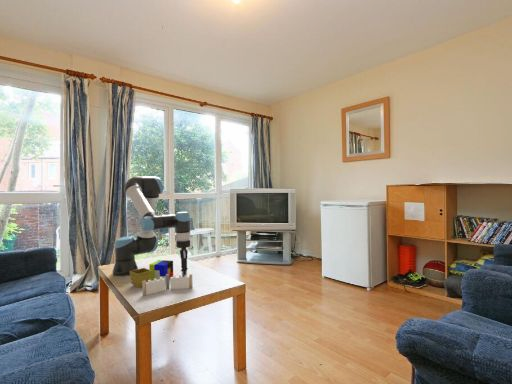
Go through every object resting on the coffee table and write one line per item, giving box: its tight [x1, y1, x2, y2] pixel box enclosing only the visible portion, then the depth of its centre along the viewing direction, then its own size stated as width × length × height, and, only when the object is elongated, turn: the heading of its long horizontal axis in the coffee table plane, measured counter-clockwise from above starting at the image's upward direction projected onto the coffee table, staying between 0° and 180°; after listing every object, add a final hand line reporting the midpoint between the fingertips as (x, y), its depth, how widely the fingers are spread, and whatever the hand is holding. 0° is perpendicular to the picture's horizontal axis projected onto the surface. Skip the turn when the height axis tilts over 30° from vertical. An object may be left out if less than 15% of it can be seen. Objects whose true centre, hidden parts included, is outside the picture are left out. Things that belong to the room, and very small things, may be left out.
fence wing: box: [169, 273, 193, 290], centre depth 148 cm, size 12×2×7 cm, turn 97°
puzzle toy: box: [148, 259, 174, 281], centre depth 166 cm, size 10×10×10 cm
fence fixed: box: [141, 274, 170, 297], centre depth 143 cm, size 14×2×8 cm, turn 131°
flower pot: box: [129, 267, 151, 288], centre depth 153 cm, size 9×9×9 cm
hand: (184, 281), depth 151 cm, fingers closed
